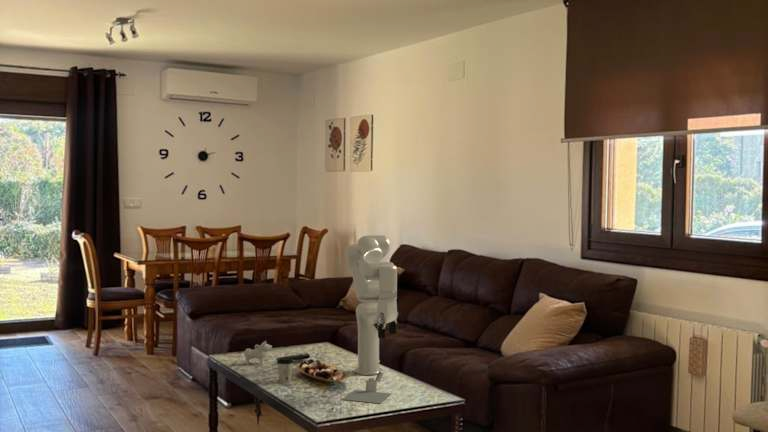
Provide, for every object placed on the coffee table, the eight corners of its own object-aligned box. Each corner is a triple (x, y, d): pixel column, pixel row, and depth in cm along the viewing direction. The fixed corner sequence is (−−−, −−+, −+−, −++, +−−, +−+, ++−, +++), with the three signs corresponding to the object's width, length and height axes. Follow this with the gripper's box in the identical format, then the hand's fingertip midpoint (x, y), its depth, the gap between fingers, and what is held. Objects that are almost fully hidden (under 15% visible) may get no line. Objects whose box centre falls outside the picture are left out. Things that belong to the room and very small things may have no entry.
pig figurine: (272, 365, 356) (271, 342, 355) (244, 365, 354) (244, 343, 354) (272, 362, 361) (272, 340, 361) (244, 363, 360) (244, 340, 359)
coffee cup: (290, 384, 324) (290, 360, 323) (274, 383, 325) (274, 360, 324) (295, 379, 330) (295, 357, 330) (280, 379, 332) (280, 356, 331)
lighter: (367, 391, 311) (368, 371, 311) (365, 391, 312) (366, 371, 313) (382, 391, 314) (383, 371, 315) (381, 390, 316) (381, 370, 316)
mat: (354, 390, 314) (354, 389, 314) (391, 394, 309) (391, 393, 309) (341, 399, 301) (341, 399, 301) (380, 404, 296) (380, 403, 296)
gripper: (389, 290, 323) (389, 330, 325) (369, 297, 308) (369, 339, 310) (405, 292, 320) (404, 332, 321) (385, 299, 305) (385, 341, 306)
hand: (387, 335), depth 315 cm, fingers open, 9 cm apart
